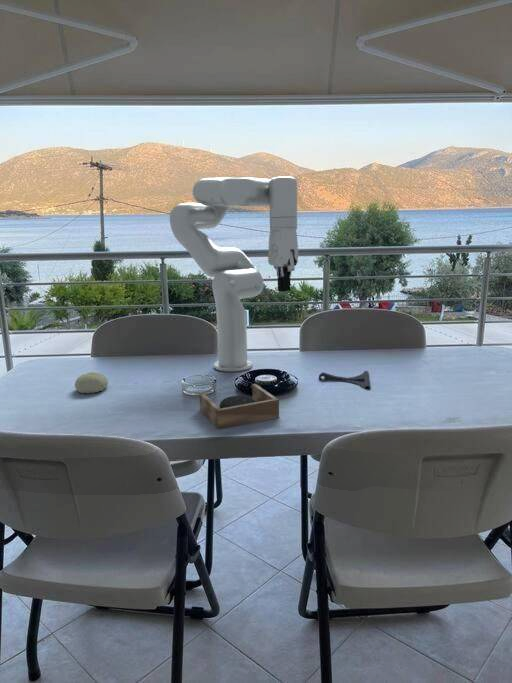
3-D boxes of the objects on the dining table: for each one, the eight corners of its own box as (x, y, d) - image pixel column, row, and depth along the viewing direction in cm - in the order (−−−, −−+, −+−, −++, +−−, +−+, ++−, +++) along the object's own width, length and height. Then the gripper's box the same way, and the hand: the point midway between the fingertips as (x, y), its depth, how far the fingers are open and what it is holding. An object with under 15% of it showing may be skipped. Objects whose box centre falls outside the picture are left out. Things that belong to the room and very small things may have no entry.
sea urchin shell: (116, 379, 143) (102, 366, 137) (106, 403, 140) (92, 391, 133) (90, 376, 146) (76, 363, 140) (80, 400, 142) (65, 388, 136)
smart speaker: (260, 421, 115) (260, 405, 115) (223, 425, 113) (223, 409, 112) (251, 407, 124) (251, 393, 123) (217, 411, 122) (216, 396, 121)
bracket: (320, 374, 152) (320, 365, 151) (368, 375, 149) (368, 367, 149) (317, 389, 138) (317, 380, 138) (370, 391, 136) (370, 382, 135)
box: (200, 409, 123) (199, 393, 122) (256, 399, 129) (255, 383, 128) (218, 429, 111) (217, 410, 110) (279, 417, 117) (278, 399, 116)
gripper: (259, 224, 138) (261, 289, 142) (283, 224, 125) (284, 295, 129) (283, 224, 141) (283, 287, 145) (308, 223, 127) (308, 293, 132)
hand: (284, 290), depth 137 cm, fingers closed
